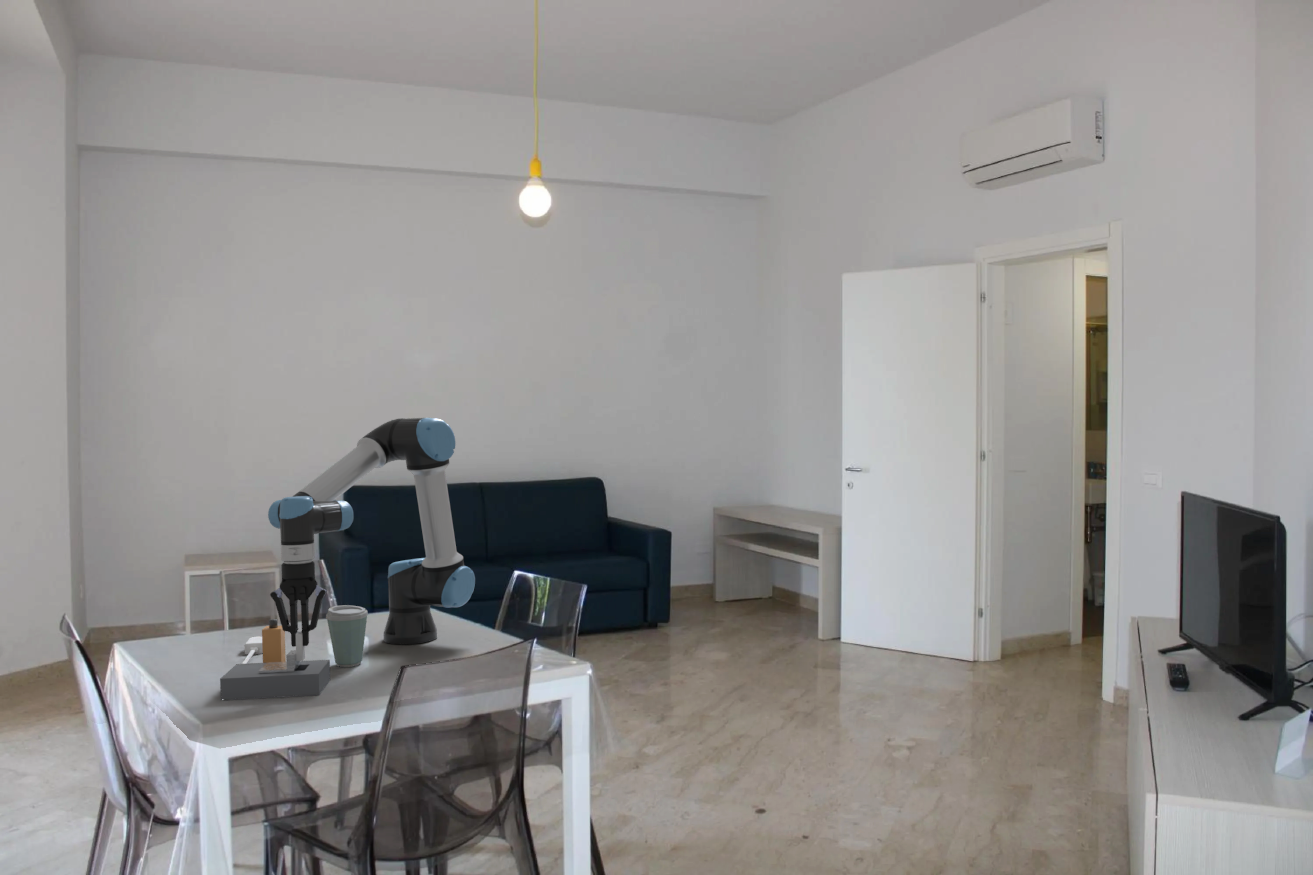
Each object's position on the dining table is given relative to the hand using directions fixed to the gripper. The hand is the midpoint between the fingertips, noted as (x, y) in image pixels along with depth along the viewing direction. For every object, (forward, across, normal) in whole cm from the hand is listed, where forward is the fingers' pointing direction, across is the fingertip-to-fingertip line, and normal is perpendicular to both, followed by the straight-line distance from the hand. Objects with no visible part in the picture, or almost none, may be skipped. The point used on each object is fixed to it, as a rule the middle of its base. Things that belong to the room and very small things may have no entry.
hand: (300, 659), depth 247 cm
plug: (+7, -10, +15) cm, 19 cm away
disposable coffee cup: (+7, +8, +22) cm, 24 cm away
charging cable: (+8, -20, +36) cm, 41 cm away
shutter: (+2, -5, 0) cm, 5 cm away
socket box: (+7, -6, 0) cm, 9 cm away
